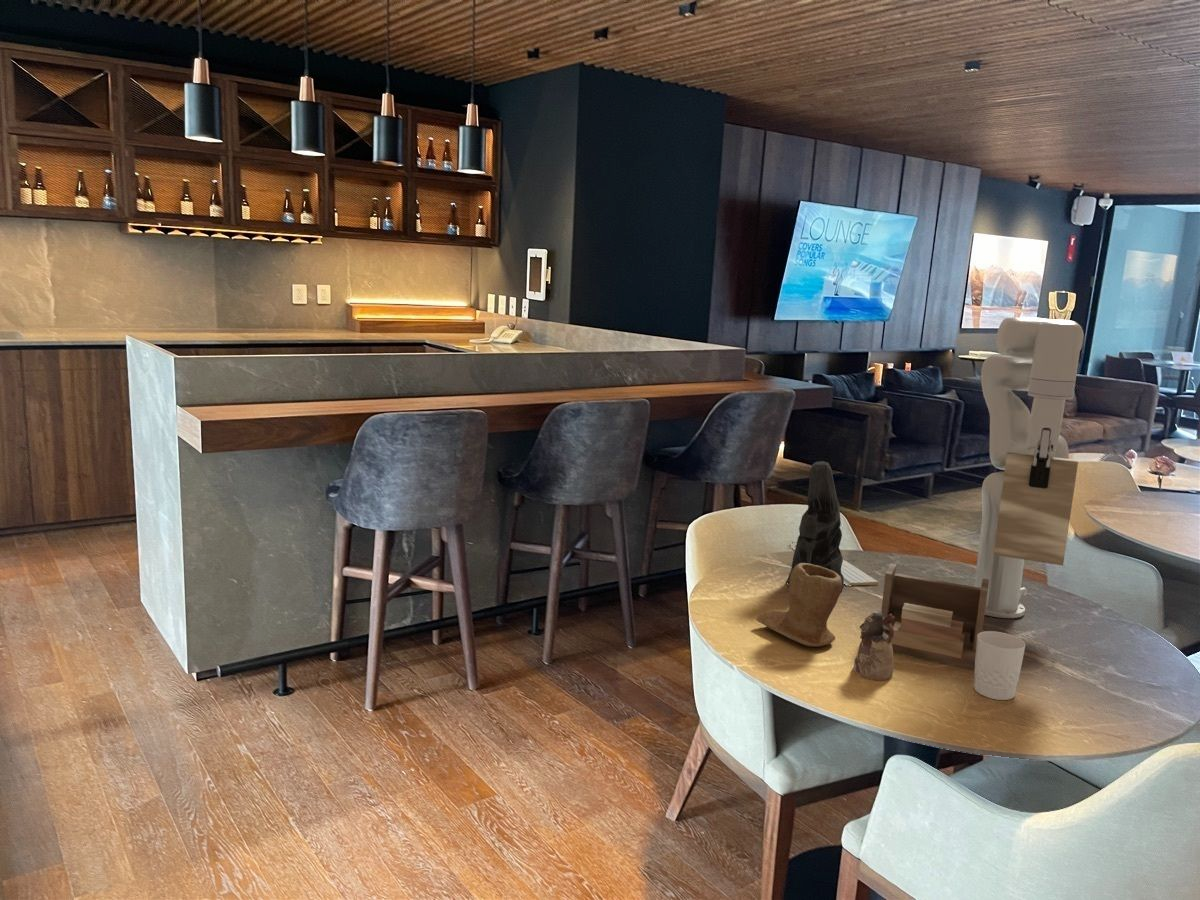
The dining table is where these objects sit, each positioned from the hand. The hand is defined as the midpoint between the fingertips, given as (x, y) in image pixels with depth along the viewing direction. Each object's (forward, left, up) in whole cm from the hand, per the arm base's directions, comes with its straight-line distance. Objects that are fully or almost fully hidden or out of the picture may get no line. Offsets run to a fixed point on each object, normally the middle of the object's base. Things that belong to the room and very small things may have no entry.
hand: (1037, 485), depth 166 cm
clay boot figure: (+29, -29, -35) cm, 54 cm away
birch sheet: (0, 0, -15) cm, 15 cm away
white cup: (+17, +7, -35) cm, 40 cm away
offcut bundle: (+14, -10, -34) cm, 38 cm away
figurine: (+30, -10, -35) cm, 47 cm away
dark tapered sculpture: (+3, -49, -35) cm, 60 cm away
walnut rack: (+11, -12, -35) cm, 39 cm away
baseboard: (-12, -57, -36) cm, 69 cm away
